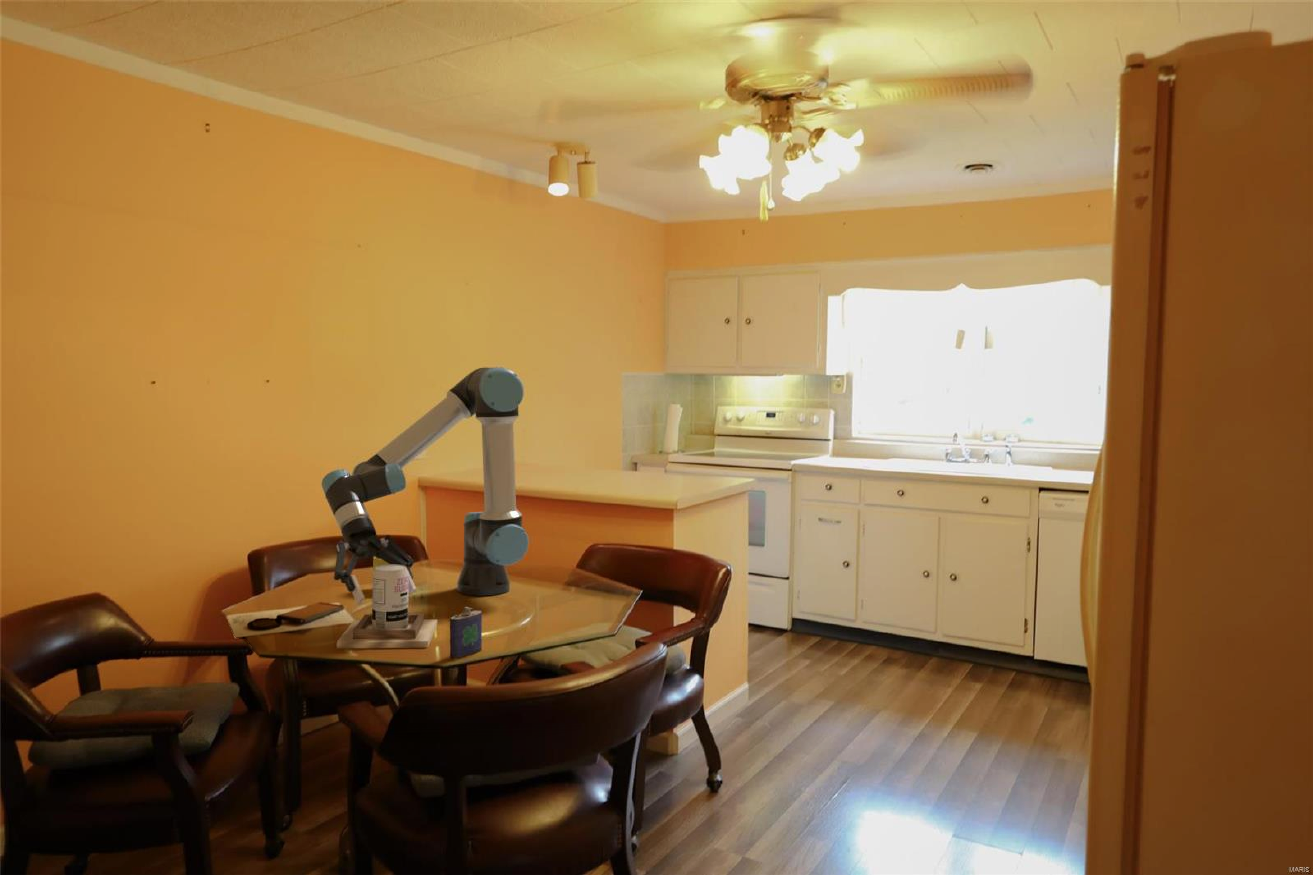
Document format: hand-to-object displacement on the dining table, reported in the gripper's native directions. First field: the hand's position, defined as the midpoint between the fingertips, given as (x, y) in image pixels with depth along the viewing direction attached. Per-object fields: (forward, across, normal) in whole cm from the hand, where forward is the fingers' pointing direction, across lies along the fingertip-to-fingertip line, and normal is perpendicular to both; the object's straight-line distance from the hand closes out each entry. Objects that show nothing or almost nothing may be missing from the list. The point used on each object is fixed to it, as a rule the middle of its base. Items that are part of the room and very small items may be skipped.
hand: (387, 596), depth 206 cm
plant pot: (-20, -25, -35) cm, 47 cm away
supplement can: (+6, 0, -5) cm, 8 cm away
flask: (+24, -6, +10) cm, 26 cm away
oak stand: (+7, 0, -6) cm, 9 cm away
